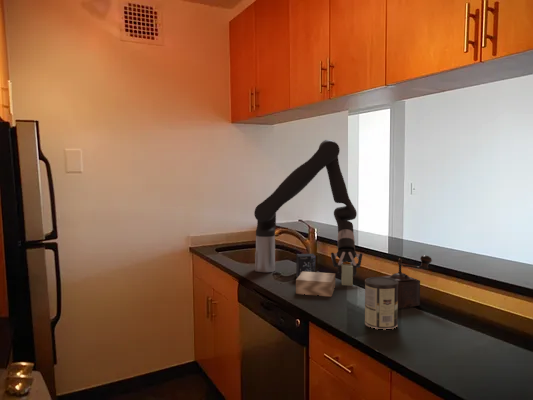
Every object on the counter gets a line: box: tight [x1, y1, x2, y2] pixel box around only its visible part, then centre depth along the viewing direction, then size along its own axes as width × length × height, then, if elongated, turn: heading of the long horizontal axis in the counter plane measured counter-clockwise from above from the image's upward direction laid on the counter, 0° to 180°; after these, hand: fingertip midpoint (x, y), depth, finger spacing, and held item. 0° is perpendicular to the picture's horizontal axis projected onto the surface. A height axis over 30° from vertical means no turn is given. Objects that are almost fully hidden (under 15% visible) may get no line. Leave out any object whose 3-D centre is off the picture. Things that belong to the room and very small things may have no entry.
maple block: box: [295, 271, 336, 297], centre depth 170 cm, size 14×14×6 cm
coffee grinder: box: [381, 254, 433, 310], centre depth 153 cm, size 16×11×18 cm
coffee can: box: [364, 276, 399, 331], centre depth 132 cm, size 10×10×14 cm
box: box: [295, 253, 317, 279], centre depth 189 cm, size 8×6×11 cm
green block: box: [340, 263, 354, 286], centre depth 179 cm, size 4×4×8 cm
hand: (347, 274), depth 177 cm, fingers open, 5 cm apart
